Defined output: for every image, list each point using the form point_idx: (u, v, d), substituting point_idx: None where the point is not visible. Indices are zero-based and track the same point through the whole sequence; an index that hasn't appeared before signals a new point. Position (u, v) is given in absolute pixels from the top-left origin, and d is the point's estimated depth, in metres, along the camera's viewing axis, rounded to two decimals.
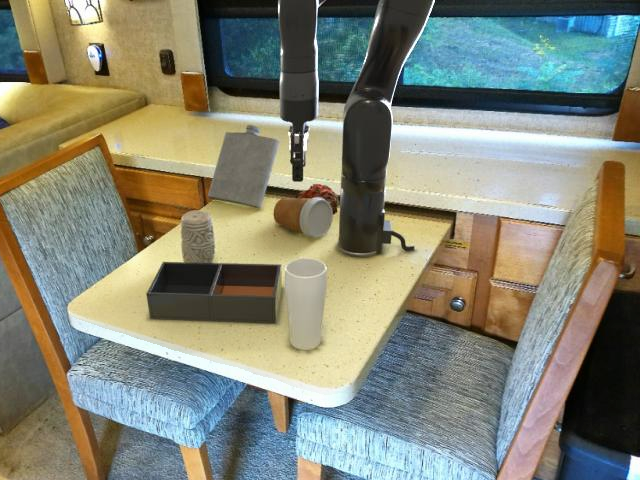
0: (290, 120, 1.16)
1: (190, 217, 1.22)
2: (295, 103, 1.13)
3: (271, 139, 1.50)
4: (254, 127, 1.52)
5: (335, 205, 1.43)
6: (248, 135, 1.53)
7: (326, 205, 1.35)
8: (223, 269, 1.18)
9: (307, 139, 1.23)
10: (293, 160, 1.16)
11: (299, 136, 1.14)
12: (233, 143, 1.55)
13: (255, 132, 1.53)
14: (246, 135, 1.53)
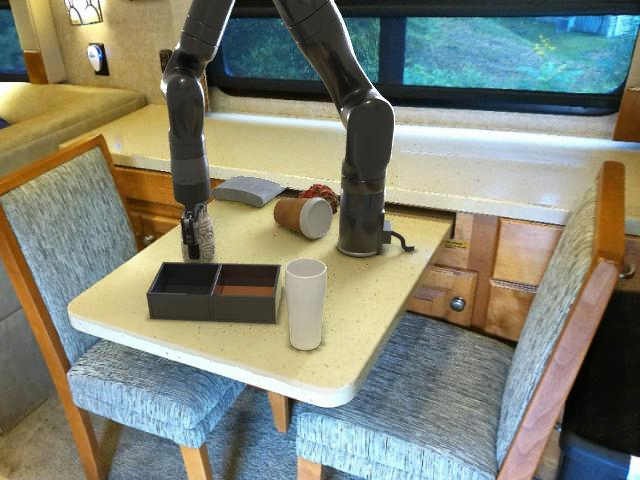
0: (181, 202, 1.18)
1: None
2: (184, 187, 1.15)
3: None
4: None
5: (335, 205, 1.43)
6: None
7: (326, 205, 1.35)
8: (223, 269, 1.18)
9: None
10: (186, 241, 1.19)
11: (189, 222, 1.16)
12: None
13: None
14: None
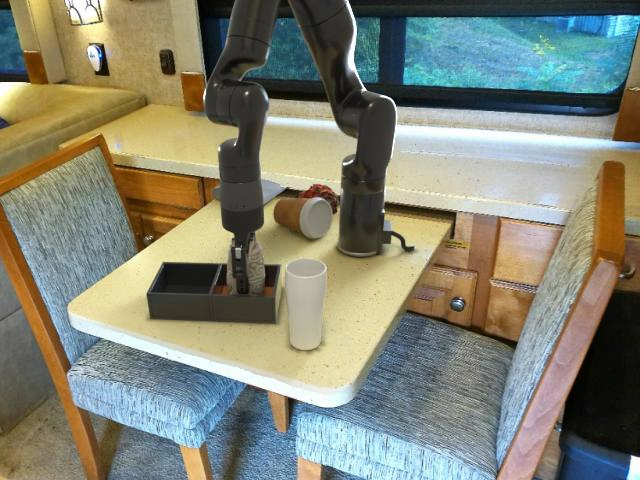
0: (231, 231, 1.03)
1: None
2: (236, 214, 1.01)
3: None
4: None
5: (335, 205, 1.43)
6: None
7: (326, 205, 1.35)
8: (223, 269, 1.18)
9: None
10: (235, 275, 1.03)
11: (241, 251, 1.01)
12: None
13: None
14: None
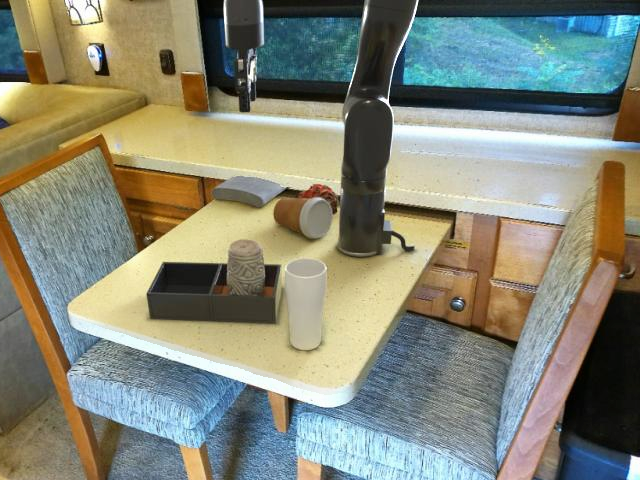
0: (235, 47, 1.14)
1: (239, 247, 1.07)
2: (239, 28, 1.12)
3: None
4: None
5: (335, 205, 1.43)
6: None
7: (326, 205, 1.35)
8: (223, 269, 1.18)
9: (255, 70, 1.21)
10: (238, 87, 1.14)
11: (243, 62, 1.12)
12: None
13: None
14: None
